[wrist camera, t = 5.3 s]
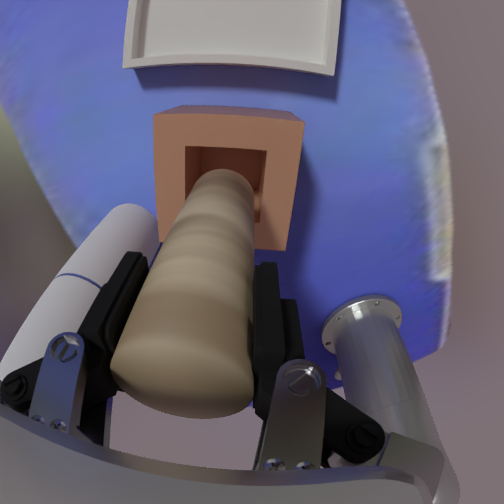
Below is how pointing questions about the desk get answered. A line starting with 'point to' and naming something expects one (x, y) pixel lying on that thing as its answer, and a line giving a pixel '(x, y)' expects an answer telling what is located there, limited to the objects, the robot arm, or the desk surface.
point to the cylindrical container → (82, 282)
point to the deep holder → (229, 161)
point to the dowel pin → (196, 308)
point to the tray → (233, 34)
